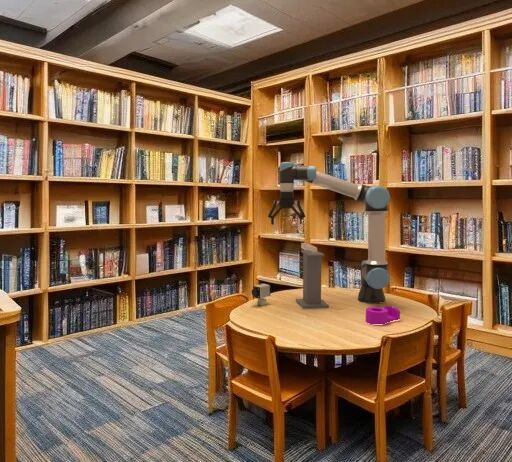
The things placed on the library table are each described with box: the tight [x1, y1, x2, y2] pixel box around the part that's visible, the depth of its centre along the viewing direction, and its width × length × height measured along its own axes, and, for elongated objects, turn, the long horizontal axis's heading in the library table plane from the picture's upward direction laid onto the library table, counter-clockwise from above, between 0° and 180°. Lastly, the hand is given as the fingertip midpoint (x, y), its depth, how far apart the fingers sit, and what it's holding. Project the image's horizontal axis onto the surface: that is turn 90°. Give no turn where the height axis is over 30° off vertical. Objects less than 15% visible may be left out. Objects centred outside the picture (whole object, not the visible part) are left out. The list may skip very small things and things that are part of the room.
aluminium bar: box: [300, 242, 318, 253], centre depth 233 cm, size 22×3×3 cm, turn 8°
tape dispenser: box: [365, 305, 401, 325], centre depth 198 cm, size 16×10×6 cm, turn 119°
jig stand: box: [295, 249, 330, 310], centre depth 227 cm, size 18×14×29 cm
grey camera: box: [251, 283, 273, 307], centre depth 228 cm, size 6×12×12 cm, turn 135°
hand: (286, 230), depth 225 cm, fingers open, 13 cm apart
